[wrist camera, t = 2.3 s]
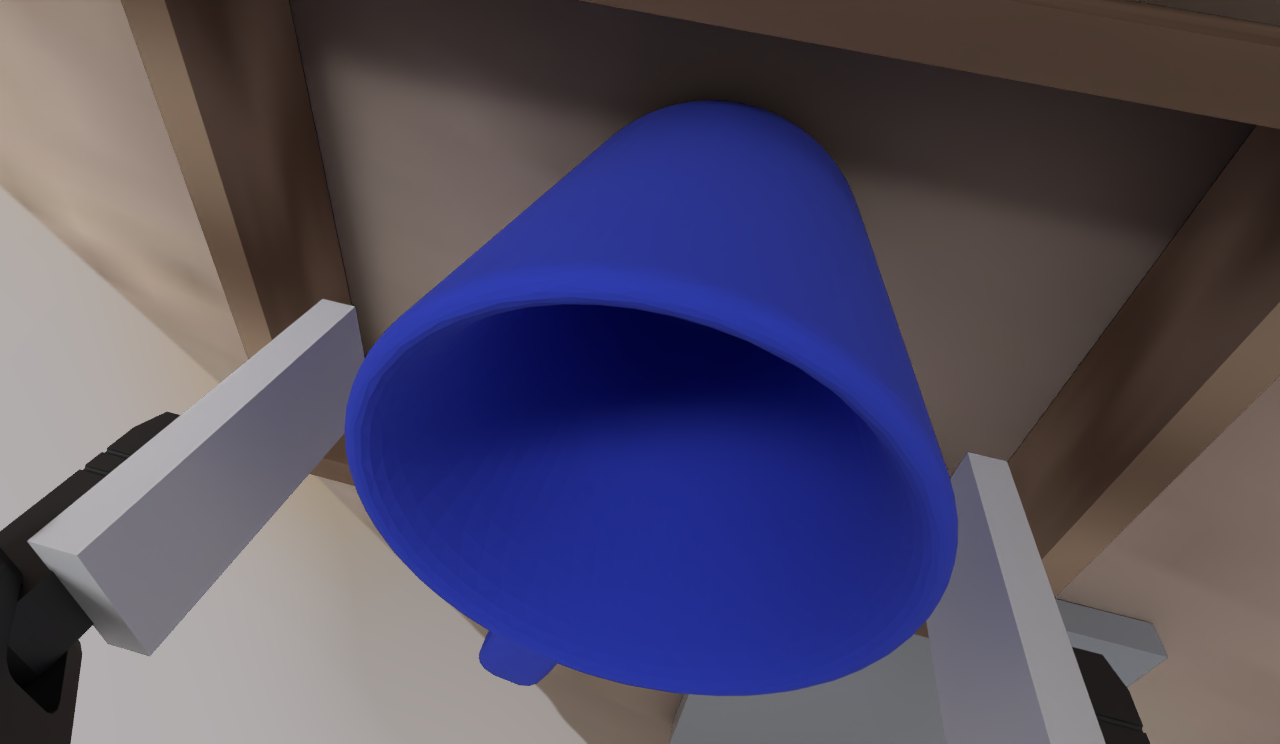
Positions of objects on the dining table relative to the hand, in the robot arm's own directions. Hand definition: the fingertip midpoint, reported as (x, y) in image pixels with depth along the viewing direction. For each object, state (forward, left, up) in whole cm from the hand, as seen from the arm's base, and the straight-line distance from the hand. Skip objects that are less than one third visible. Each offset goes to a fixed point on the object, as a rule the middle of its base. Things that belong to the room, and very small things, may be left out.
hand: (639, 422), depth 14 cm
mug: (0, 0, -5) cm, 5 cm away
